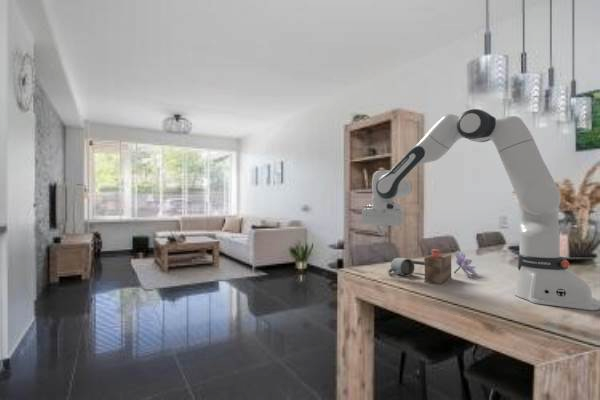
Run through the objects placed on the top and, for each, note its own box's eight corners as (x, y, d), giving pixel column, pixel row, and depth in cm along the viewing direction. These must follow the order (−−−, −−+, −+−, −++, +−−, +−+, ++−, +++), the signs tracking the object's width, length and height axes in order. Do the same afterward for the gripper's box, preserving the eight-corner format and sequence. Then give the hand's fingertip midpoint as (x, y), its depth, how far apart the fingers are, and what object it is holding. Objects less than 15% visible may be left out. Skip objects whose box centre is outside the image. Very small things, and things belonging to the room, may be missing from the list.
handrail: (439, 275, 143) (439, 263, 143) (438, 276, 142) (438, 264, 142) (398, 269, 155) (398, 258, 155) (397, 270, 154) (397, 259, 154)
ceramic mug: (402, 271, 151) (402, 255, 151) (415, 275, 143) (414, 258, 143) (383, 274, 147) (383, 257, 147) (395, 278, 139) (395, 260, 139)
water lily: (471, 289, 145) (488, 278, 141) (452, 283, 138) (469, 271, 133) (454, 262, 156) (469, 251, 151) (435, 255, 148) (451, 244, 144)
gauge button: (441, 264, 132) (441, 249, 132) (438, 265, 130) (438, 250, 130) (433, 263, 134) (432, 248, 134) (429, 264, 132) (429, 249, 132)
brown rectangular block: (451, 278, 137) (451, 254, 137) (440, 284, 127) (439, 259, 127) (435, 276, 142) (435, 253, 142) (423, 282, 131) (423, 257, 131)
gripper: (358, 204, 156) (358, 233, 156) (399, 205, 142) (399, 236, 142) (365, 204, 161) (365, 232, 161) (405, 205, 147) (405, 235, 147)
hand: (381, 234), depth 151 cm, fingers closed
